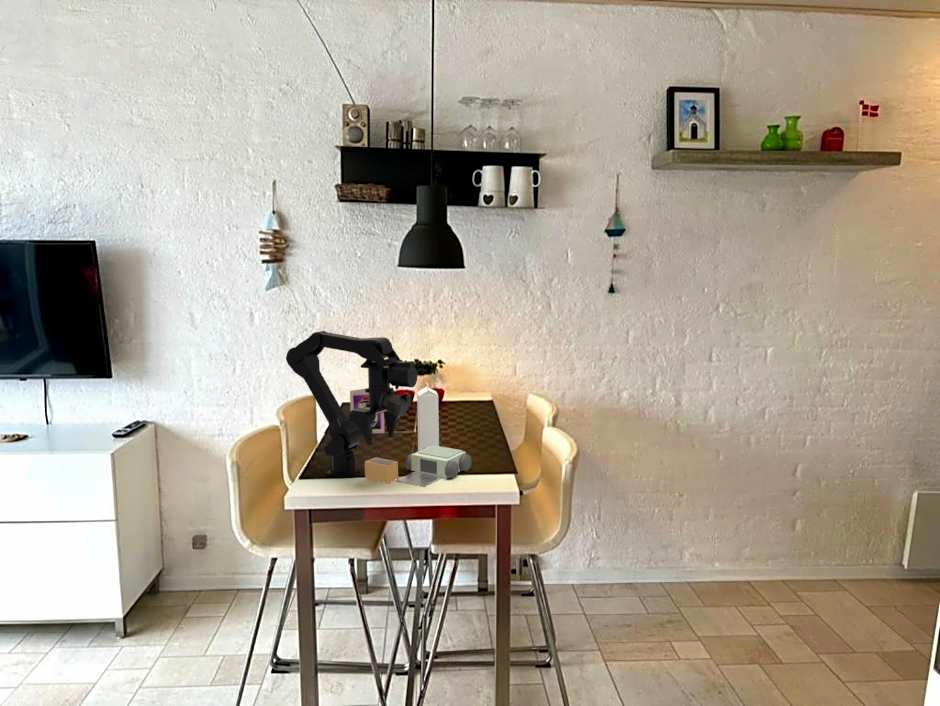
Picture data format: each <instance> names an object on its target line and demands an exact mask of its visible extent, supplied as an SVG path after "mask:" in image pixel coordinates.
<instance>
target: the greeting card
mask: <svg viewBox="0 0 940 706" xmlns="http://www.w3.org/2000/svg"><path fill="white" fill-rule="evenodd" d="M365 389H366V388H361V389H360V388H359V389H353V390H349V401H350V402H349V403H350V407H349V408H350V412H351V411H352V410H354V409H358V408H365V409H370V408H367V407H366V403H369V393H366V392H365ZM376 411H378V410H376ZM374 421H376V423H375V424H374V425H373V429H372V434H385V417H384V413H380V414H377V415H376V418H375V420H374Z"/></svg>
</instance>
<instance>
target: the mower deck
mask: <svg viewBox="0 0 940 706" xmlns="http://www.w3.org/2000/svg"><path fill="white" fill-rule="evenodd" d="M471 467H472V457H471V455H469V454H467V452H466V451H464V450H462V449H457V448H451V447H445V446H441V445H439V446H435V445H434V446H430V447H428V448H423V449H422V450H421V451H418V450H417V451H416V452H414V453H409V454H408V455H407V456H406V459H405V468H406V469H407V470H408V471H417V472H422V473H427V474H432V475H437V476H442V478H441V479H445V478H446V479H455V478H456V477H457V476H458V472H459V473H460V471H461V472H468V471H469V470H470V468H471Z"/></svg>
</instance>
